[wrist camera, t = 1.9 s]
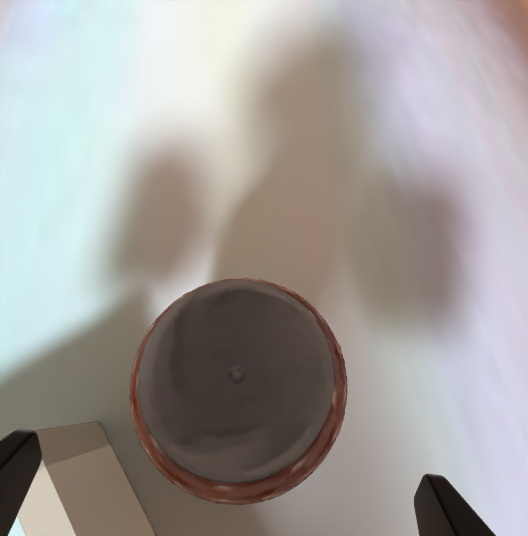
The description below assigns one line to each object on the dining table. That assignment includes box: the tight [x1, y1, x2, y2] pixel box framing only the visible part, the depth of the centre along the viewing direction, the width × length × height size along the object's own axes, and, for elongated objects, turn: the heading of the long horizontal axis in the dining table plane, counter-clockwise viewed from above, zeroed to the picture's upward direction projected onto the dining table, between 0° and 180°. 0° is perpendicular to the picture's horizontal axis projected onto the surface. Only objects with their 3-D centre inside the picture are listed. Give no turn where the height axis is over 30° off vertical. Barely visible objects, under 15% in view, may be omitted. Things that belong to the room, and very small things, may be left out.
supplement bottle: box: [130, 278, 347, 505], centre depth 13 cm, size 6×6×11 cm
